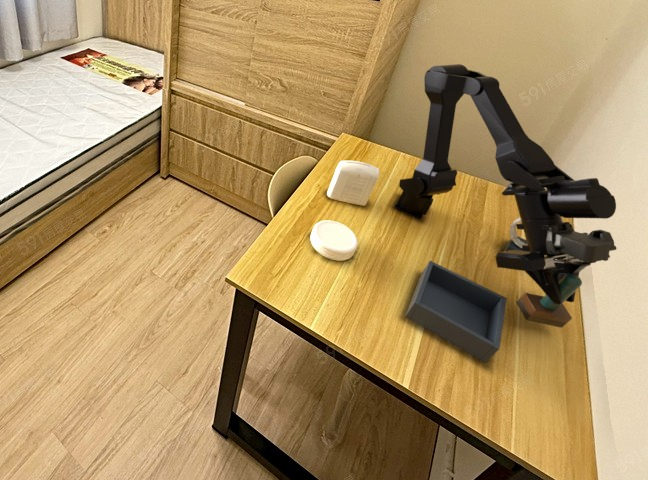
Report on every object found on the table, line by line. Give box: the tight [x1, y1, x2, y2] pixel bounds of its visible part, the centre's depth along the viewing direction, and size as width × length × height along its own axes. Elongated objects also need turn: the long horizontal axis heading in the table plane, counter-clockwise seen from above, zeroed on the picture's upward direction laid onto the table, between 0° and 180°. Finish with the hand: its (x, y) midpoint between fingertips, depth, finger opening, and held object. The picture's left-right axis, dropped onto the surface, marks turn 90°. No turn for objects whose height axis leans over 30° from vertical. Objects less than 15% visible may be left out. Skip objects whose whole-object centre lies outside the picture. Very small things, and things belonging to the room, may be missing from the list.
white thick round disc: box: [309, 219, 359, 262], centre depth 96 cm, size 10×10×4 cm
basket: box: [404, 260, 508, 364], centre depth 81 cm, size 14×14×5 cm
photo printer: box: [326, 160, 380, 207], centre depth 107 cm, size 10×4×12 cm, turn 73°
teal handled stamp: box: [515, 274, 583, 328], centre depth 76 cm, size 6×4×12 cm, turn 76°
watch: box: [503, 216, 530, 252], centre depth 92 cm, size 6×8×11 cm
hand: (563, 302), depth 74 cm, fingers closed on teal handled stamp, 2 cm apart
